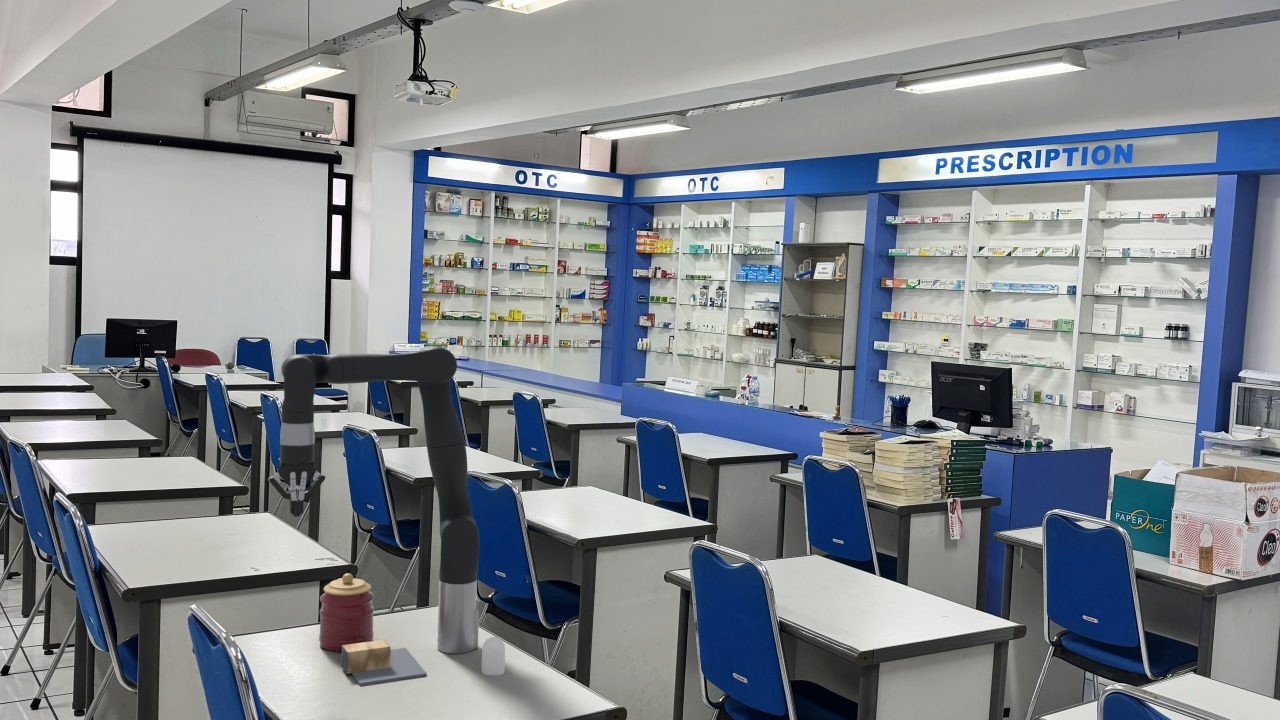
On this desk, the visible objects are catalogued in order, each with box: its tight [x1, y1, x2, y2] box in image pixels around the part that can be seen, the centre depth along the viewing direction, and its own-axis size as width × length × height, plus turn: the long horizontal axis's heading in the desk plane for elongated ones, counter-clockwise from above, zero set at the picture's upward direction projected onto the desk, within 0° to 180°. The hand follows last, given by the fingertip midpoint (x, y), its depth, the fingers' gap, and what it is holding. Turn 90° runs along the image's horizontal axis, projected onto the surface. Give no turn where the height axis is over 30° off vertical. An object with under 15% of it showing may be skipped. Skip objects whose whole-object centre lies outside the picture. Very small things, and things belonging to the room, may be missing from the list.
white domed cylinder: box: [481, 636, 506, 676], centre depth 237 cm, size 5×5×8 cm
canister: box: [318, 573, 375, 653], centre depth 251 cm, size 13×13×18 cm
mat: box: [351, 647, 427, 687], centre depth 237 cm, size 15×18×1 cm
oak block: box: [340, 639, 392, 675], centre depth 235 cm, size 5×5×10 cm
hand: (296, 515), depth 235 cm, fingers closed
